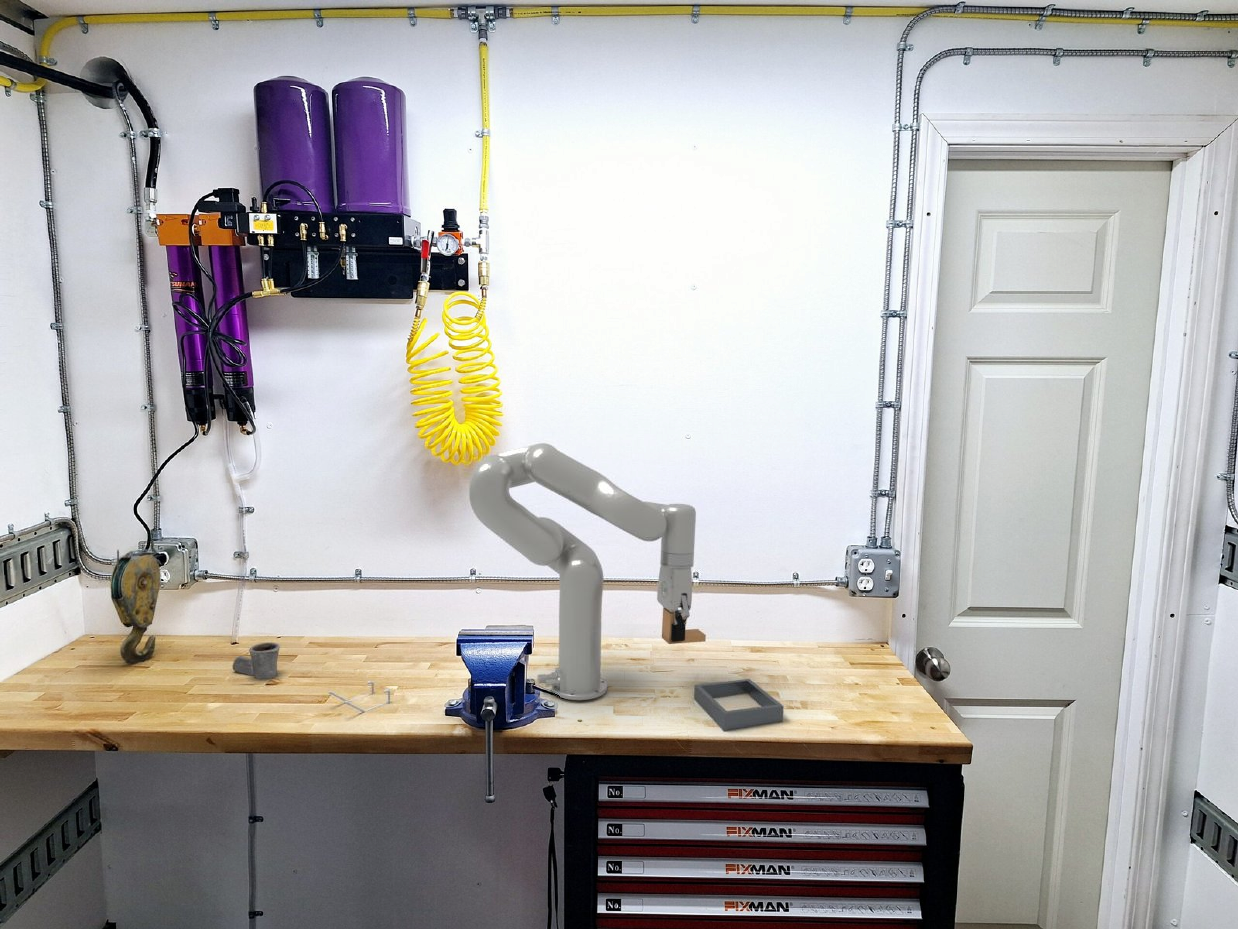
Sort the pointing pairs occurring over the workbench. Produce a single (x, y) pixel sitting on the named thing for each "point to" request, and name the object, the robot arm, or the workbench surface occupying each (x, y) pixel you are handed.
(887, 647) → the workbench surface
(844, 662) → the workbench surface
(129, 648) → the pulley block
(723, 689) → the well box
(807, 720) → the workbench surface
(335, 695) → the wall mount rack
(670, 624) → the tan stepped block
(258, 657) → the pipe
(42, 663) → the workbench surface
